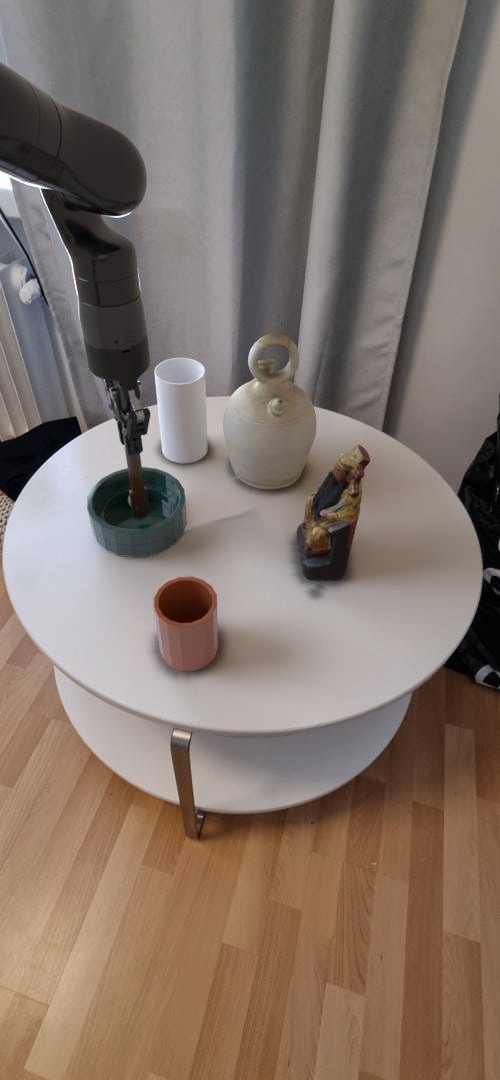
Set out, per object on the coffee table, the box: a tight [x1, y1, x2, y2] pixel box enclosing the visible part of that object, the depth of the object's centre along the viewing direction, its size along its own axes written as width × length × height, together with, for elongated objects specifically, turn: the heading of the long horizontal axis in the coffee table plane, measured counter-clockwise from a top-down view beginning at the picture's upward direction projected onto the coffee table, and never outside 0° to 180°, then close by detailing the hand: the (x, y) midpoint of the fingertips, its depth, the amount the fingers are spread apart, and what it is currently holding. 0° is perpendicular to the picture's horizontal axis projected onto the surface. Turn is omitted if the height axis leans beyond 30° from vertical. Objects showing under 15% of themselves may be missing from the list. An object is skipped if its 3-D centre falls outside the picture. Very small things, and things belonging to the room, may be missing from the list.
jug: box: [222, 332, 317, 491], centre depth 95 cm, size 15×16×25 cm
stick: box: [121, 424, 150, 518], centre depth 85 cm, size 3×2×18 cm
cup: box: [154, 357, 209, 464], centre depth 101 cm, size 8×8×16 cm
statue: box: [296, 444, 371, 593], centre depth 82 cm, size 12×8×20 cm, turn 178°
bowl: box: [86, 466, 188, 558], centre depth 91 cm, size 15×15×6 cm
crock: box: [153, 576, 219, 672], centre depth 74 cm, size 8×8×10 cm
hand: (131, 447), depth 82 cm, fingers closed on stick, 2 cm apart
